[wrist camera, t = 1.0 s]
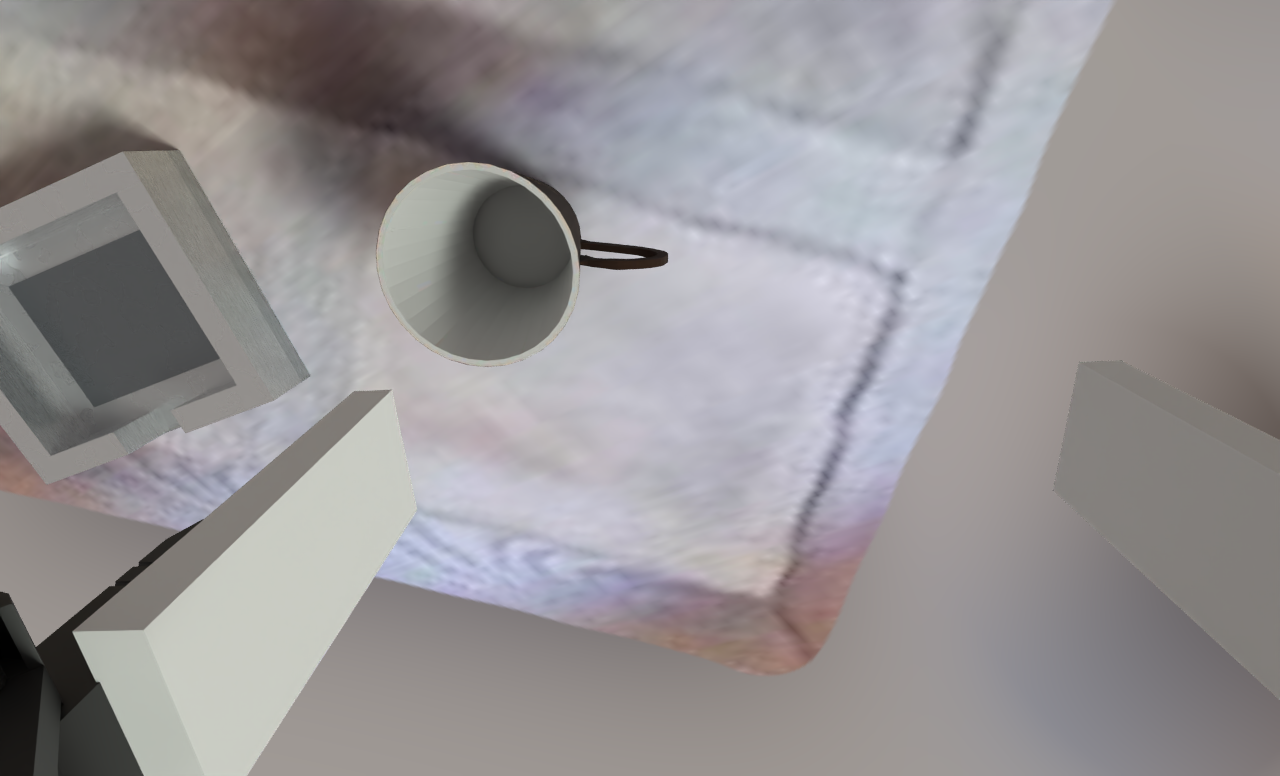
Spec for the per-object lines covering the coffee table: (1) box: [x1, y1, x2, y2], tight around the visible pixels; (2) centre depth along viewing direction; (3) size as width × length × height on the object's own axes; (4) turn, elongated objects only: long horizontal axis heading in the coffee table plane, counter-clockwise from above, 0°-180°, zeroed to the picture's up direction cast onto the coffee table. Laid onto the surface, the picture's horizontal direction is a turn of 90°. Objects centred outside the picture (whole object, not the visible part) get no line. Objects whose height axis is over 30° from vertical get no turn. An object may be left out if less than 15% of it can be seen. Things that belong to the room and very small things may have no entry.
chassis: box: [0, 150, 310, 485], centre depth 37 cm, size 14×16×4 cm
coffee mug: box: [376, 162, 668, 367], centre depth 32 cm, size 12×9×10 cm
